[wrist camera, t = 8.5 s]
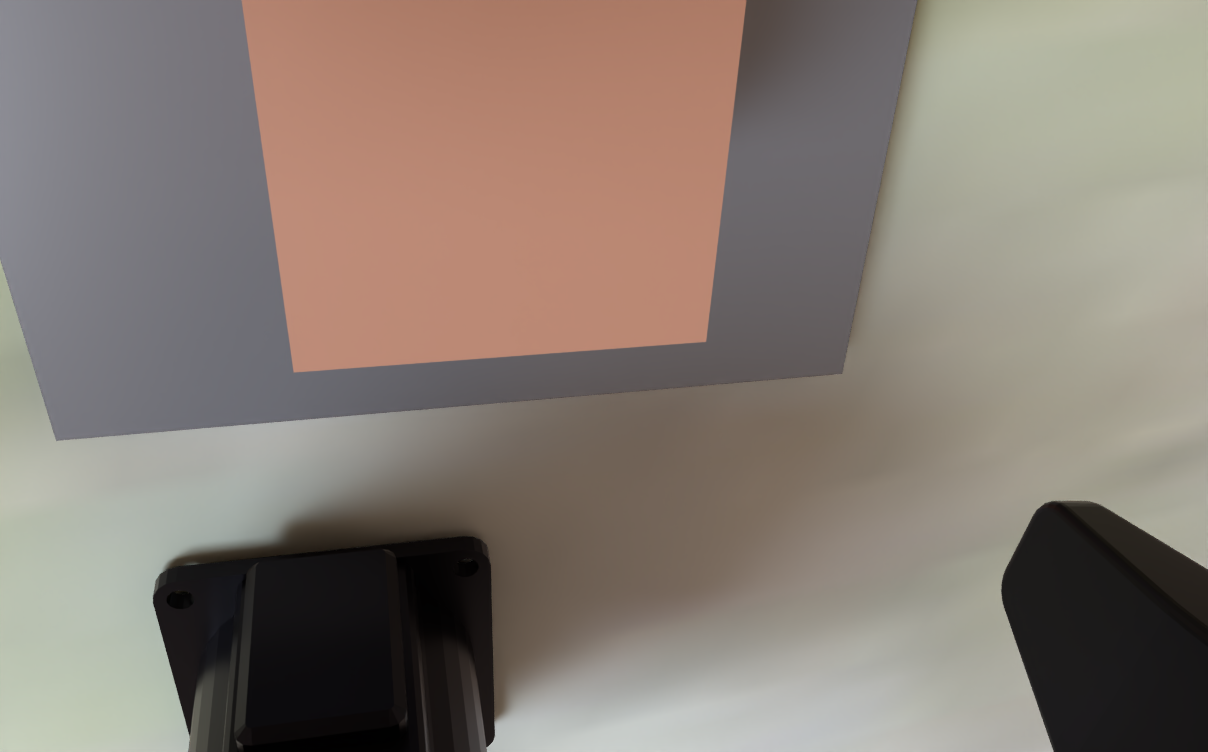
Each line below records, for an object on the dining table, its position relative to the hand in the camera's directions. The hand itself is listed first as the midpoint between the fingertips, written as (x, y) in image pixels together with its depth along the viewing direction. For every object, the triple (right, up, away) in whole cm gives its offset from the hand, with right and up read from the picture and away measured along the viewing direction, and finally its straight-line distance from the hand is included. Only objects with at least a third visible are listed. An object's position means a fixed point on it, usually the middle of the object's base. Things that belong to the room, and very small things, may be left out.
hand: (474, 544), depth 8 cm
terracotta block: (-1, +6, +8) cm, 10 cm away
